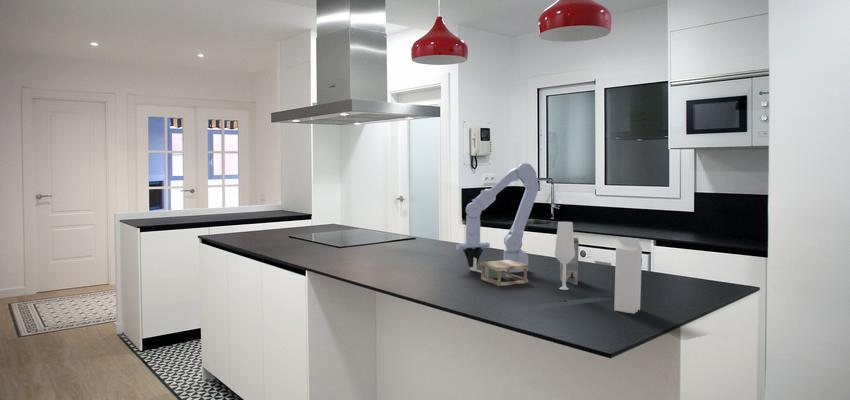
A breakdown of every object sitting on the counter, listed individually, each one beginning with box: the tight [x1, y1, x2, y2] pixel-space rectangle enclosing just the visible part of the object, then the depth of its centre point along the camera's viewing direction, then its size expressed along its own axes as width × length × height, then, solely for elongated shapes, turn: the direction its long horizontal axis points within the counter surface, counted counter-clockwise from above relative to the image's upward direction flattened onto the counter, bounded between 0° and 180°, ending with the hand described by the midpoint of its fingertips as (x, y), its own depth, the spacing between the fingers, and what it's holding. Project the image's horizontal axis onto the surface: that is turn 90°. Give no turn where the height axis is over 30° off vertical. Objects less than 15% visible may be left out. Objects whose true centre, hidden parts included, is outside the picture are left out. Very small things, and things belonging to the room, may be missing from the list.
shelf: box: [479, 259, 530, 287], centre depth 211 cm, size 13×20×8 cm, turn 26°
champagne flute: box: [554, 221, 575, 291], centre depth 195 cm, size 7×7×24 cm
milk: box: [613, 236, 643, 314], centre depth 172 cm, size 6×6×22 cm
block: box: [469, 257, 504, 279], centre depth 221 cm, size 6×18×5 cm, turn 26°
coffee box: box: [559, 237, 580, 286], centre depth 211 cm, size 9×6×16 cm
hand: (472, 266), depth 228 cm, fingers closed on block
